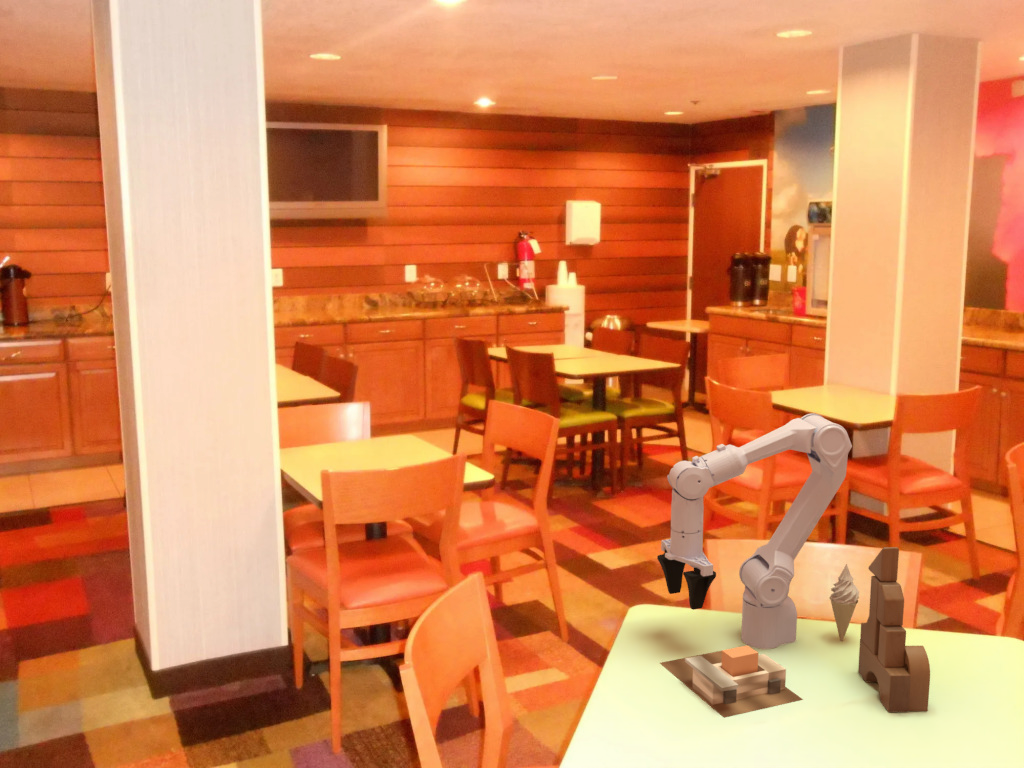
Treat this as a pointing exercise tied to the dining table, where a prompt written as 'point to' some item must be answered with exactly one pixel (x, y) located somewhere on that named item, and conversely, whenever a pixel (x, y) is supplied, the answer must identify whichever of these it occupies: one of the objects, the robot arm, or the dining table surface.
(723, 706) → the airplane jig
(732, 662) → the orange upright block
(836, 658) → the dining table surface
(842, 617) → the ice cream cone
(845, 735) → the dining table surface
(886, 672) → the wooden toy
